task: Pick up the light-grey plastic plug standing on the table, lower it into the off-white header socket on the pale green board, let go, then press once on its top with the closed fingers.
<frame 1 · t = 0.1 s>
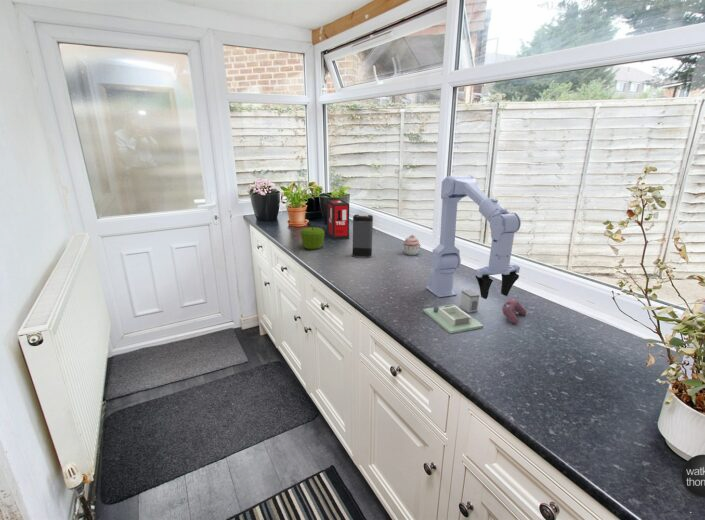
hand: (494, 296, 114), 10 cm above the worktop, tool pointing down, fingers open, 7 cm apart
electronic device: (362, 256, 184), on the worktop
cupcake: (411, 254, 189), on the worktop
board: (451, 319, 121), on the worktop
plug: (468, 308, 129), on the worktop
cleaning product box: (337, 236, 221), on the worktop
apple: (313, 248, 196), on the worktop
video game controller: (512, 318, 123), on the worktop
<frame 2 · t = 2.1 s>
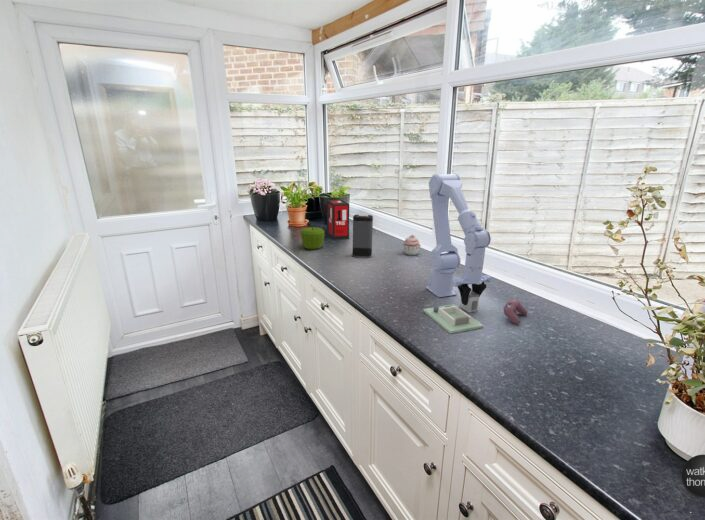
hand: (469, 303, 128), 2 cm above the worktop, tool pointing down, fingers closed on plug, 3 cm apart
plug: (468, 308, 129), on the worktop, touching gripper
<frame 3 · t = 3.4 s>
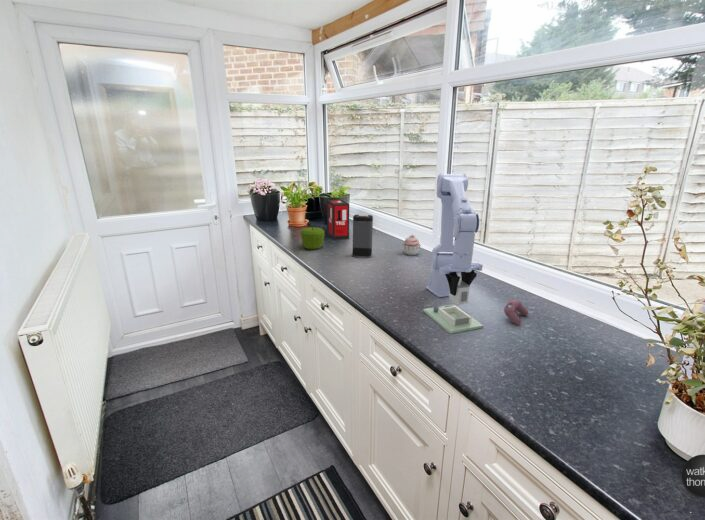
hand: (458, 293, 118), 9 cm above the worktop, tool pointing down, fingers closed on plug, 3 cm apart
plug: (458, 300, 118), point 7 cm above the worktop, touching gripper
everything else where it was.
when the fingers open (4 cm above the worktop, at t = 4.8 s): plug stays where it is, resting on board.
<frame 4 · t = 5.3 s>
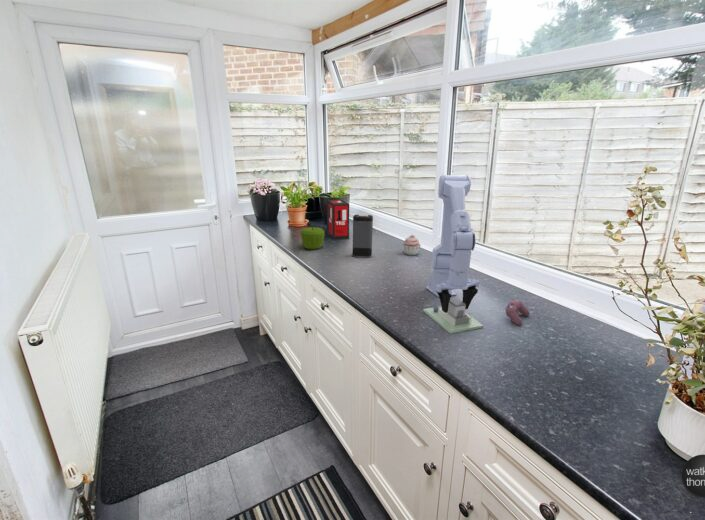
hand: (454, 309, 119), 4 cm above the worktop, tool pointing down, fingers open, 7 cm apart
plug: (454, 318, 120), point 1 cm above the worktop, touching board
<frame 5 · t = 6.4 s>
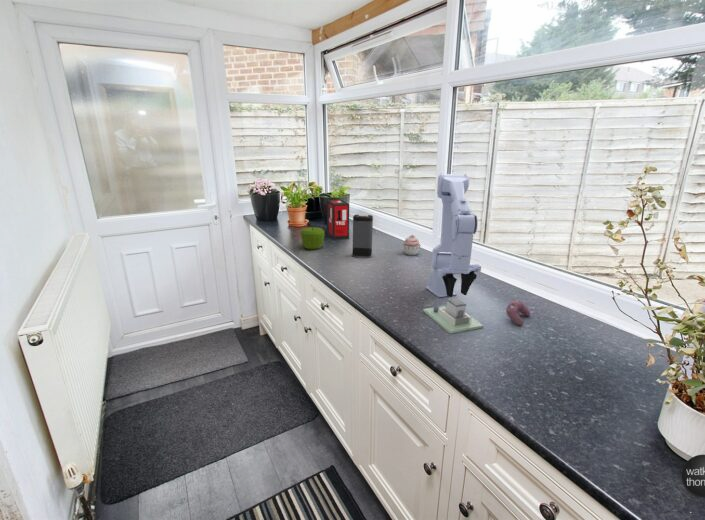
hand: (456, 295, 117), 9 cm above the worktop, tool pointing down, fingers open, 5 cm apart
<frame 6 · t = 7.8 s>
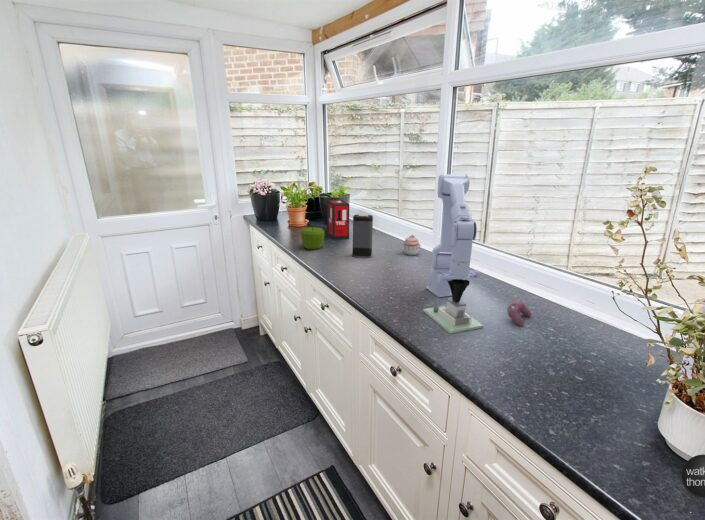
hand: (455, 300, 118), 7 cm above the worktop, tool pointing down, fingers closed
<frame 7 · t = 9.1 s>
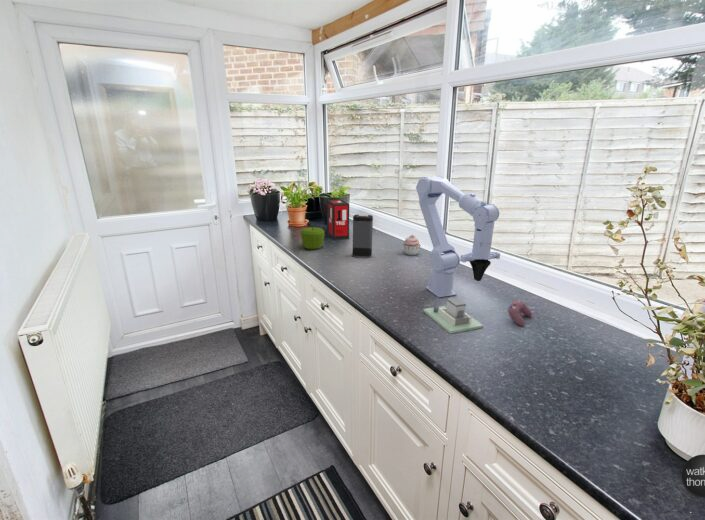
hand: (477, 279, 127), 10 cm above the worktop, tool pointing down, fingers closed
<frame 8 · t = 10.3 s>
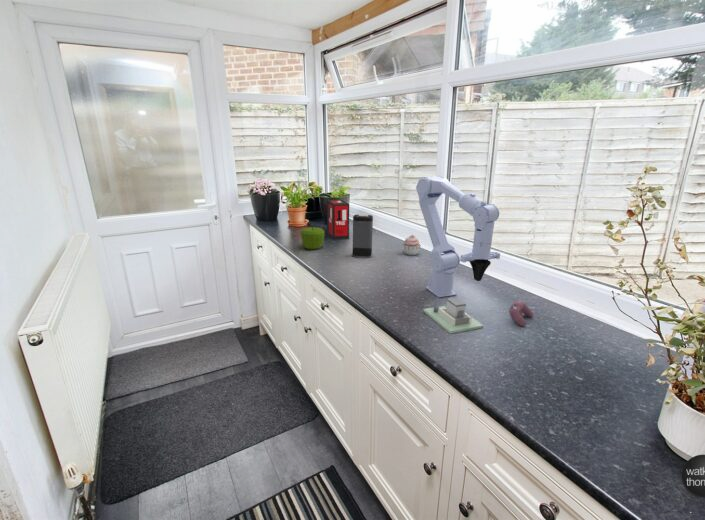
hand: (477, 279, 127), 10 cm above the worktop, tool pointing down, fingers closed
at the end: plug 0.2 cm from the target spot on the board, point 0.8 cm above the board's base; plug tilted 0°; the gripper is holding nothing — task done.
